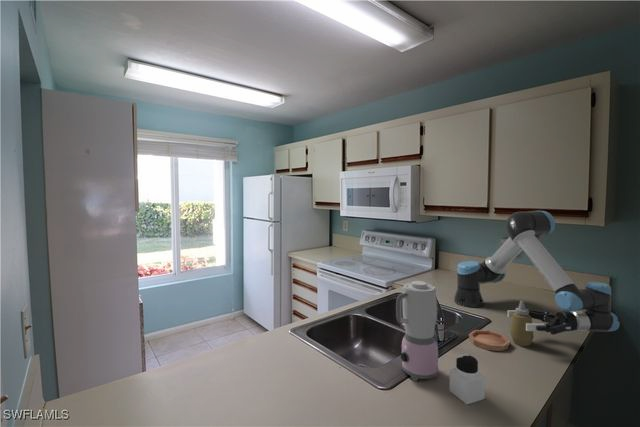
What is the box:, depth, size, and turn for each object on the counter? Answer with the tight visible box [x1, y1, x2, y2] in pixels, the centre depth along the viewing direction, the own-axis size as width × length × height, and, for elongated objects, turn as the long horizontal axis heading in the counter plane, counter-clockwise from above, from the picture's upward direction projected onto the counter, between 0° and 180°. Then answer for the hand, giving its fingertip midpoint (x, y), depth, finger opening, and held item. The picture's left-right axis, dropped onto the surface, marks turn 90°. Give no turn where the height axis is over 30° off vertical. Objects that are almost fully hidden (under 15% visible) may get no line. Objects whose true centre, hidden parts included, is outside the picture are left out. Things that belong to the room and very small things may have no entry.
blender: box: [395, 280, 439, 381], centre depth 105 cm, size 16×12×32 cm
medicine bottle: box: [449, 353, 486, 405], centre depth 93 cm, size 7×7×12 cm
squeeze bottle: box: [509, 300, 534, 347], centre depth 124 cm, size 8×8×18 cm
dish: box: [468, 329, 511, 352], centre depth 126 cm, size 14×14×2 cm
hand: (516, 320), depth 124 cm, fingers open, 13 cm apart
